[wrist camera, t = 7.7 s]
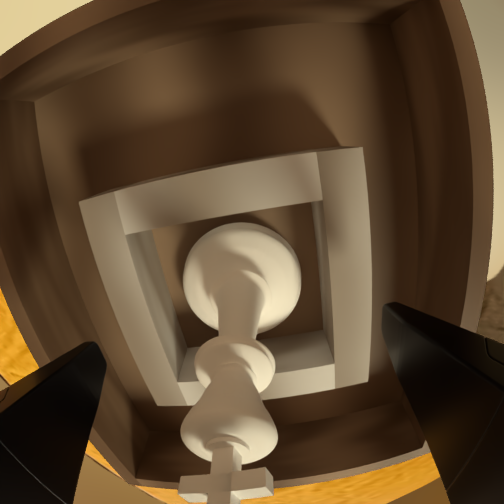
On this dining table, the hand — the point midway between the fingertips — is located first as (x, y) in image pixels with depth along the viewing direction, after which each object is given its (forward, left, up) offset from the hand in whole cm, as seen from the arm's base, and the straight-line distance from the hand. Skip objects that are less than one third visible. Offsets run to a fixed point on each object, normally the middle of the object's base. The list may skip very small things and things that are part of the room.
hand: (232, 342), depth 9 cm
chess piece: (0, 0, -5) cm, 5 cm away
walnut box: (0, 0, -6) cm, 6 cm away
